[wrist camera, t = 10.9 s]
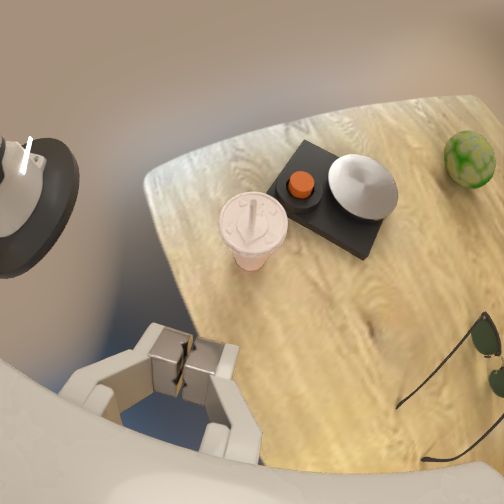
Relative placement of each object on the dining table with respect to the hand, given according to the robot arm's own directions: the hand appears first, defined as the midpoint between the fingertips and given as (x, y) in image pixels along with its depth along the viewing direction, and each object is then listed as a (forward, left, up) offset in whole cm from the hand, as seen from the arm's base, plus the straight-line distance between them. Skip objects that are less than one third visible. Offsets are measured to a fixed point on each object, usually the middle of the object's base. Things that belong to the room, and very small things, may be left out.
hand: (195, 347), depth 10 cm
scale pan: (+4, +26, -20) cm, 33 cm away
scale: (+1, +24, -23) cm, 34 cm away
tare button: (-3, +21, -21) cm, 30 cm away
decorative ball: (+19, +43, -24) cm, 53 cm away
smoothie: (-4, +11, -24) cm, 26 cm away
